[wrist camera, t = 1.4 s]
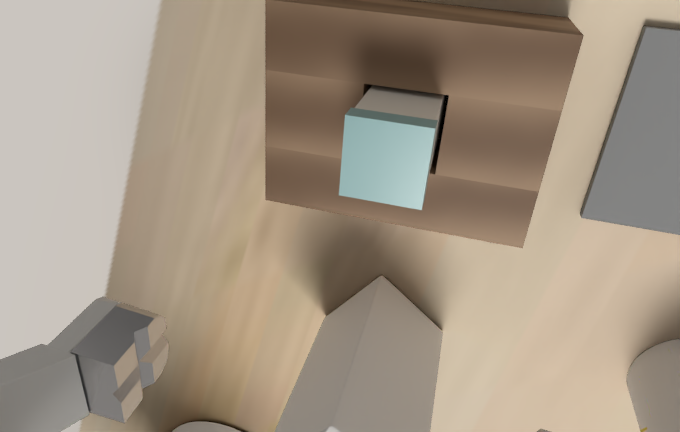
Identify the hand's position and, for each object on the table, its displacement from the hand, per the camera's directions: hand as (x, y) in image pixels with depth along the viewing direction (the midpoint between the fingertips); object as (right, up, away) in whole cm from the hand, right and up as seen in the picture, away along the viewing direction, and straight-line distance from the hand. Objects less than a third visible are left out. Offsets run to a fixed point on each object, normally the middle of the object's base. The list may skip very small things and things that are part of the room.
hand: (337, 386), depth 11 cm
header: (+5, +11, +23) cm, 26 cm away
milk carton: (+4, -5, +33) cm, 33 cm away
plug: (+5, +11, +23) cm, 26 cm away
